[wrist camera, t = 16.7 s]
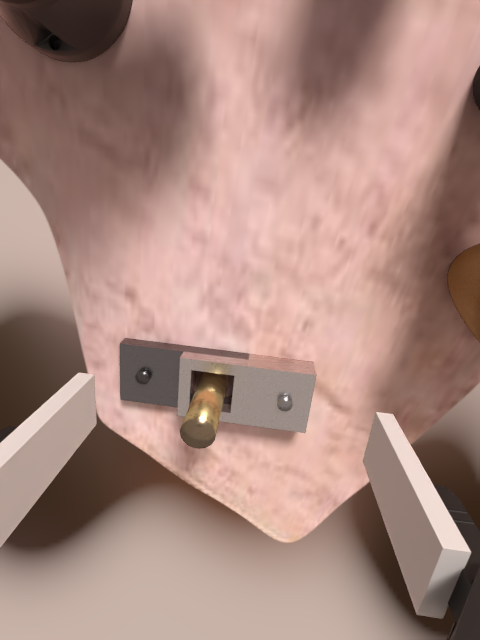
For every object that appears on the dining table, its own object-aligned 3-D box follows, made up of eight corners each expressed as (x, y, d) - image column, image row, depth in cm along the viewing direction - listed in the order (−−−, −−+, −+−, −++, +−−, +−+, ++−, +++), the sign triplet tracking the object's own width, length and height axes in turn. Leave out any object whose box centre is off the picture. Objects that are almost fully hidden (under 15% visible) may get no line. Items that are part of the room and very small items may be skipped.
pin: (196, 375, 52) (172, 430, 40) (216, 360, 51) (199, 411, 39) (213, 394, 53) (196, 454, 40) (234, 380, 52) (222, 437, 39)
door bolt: (125, 338, 51) (111, 351, 46) (313, 361, 50) (317, 378, 45) (125, 392, 54) (112, 410, 49) (302, 416, 53) (305, 436, 48)
